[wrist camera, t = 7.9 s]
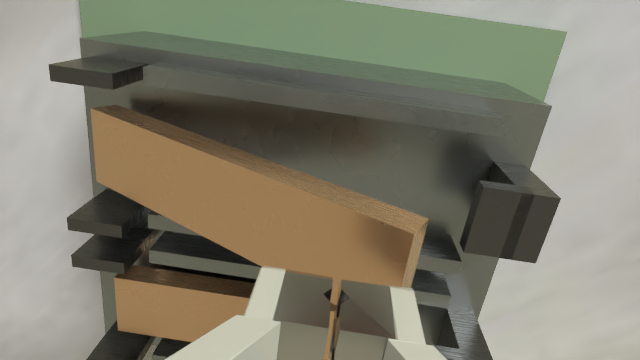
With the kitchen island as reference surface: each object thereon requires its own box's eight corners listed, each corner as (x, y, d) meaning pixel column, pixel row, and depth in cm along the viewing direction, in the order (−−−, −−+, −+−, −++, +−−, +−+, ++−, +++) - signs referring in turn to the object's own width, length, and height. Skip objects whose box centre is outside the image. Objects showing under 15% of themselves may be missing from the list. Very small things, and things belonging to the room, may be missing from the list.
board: (109, 283, 26) (104, 289, 26) (84, -36, 19) (76, -38, 19) (458, 337, 26) (460, 344, 25) (560, 31, 19) (567, 32, 18)
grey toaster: (151, 276, 25) (69, 386, 18) (143, 30, 20) (20, 44, 12) (433, 320, 25) (467, 450, 18) (504, 82, 19) (595, 128, 12)
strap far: (129, 315, 19) (117, 330, 18) (126, 263, 18) (114, 277, 17) (389, 355, 19) (391, 373, 18) (401, 305, 18) (404, 322, 17)
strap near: (121, 174, 17) (96, 181, 16) (116, 104, 15) (90, 108, 15) (404, 311, 11) (389, 332, 10) (429, 218, 10) (414, 234, 9)
